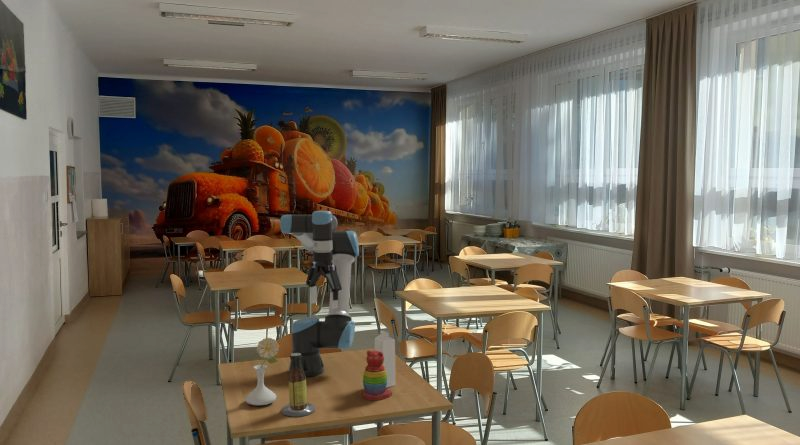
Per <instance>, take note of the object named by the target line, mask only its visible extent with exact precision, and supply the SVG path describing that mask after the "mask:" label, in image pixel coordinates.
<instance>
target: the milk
mask: <svg viewBox="0 0 800 445" xmlns="http://www.w3.org/2000/svg"><path fill="white" fill-rule="evenodd" d="M379 332H380V334H378V335H377V336H376V337H375V338H374V351H379V352H382V353H383V356H384V361H383V364H382V365H383V366H384V367H385V370H386V375H387V386H386V389H387V388H391V387H394V386H396V339H394V338H392V337H390V332H387V331H384V330H379Z"/></svg>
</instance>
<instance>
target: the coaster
mask: <svg viewBox="0 0 800 445" xmlns="http://www.w3.org/2000/svg"><path fill="white" fill-rule="evenodd" d="M315 411H316V407H315V405H314V404H312V403H309V402H307V407H306V408H305V409H303V410H293V409H291V407H290V403H289V404H285V405H284V406H283V407H281V414H282V413H283V414H284V415H283V414H282V415H283V416H285V415H287V416H286V417H289V416H291V417H292V418H300V417H306V416H309V415H311V414H313V413H315ZM291 417H290V418H291Z"/></svg>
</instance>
